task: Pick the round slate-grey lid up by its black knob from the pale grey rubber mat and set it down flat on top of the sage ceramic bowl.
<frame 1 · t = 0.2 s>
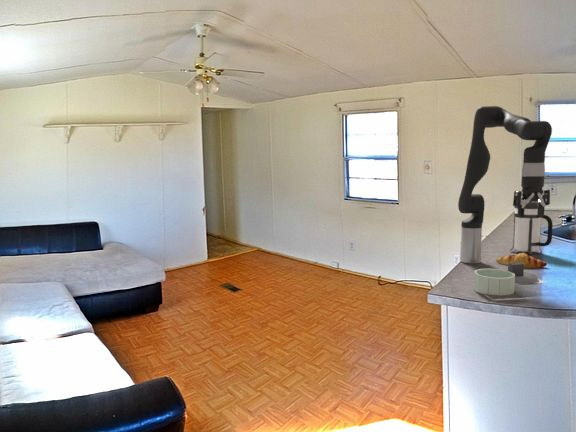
hand: (530, 217, 166), 28 cm above the worktop, tool pointing down, fingers open, 8 cm apart
mat: (515, 279, 181), on the worktop
coffee press: (528, 253, 227), on the worktop
bowl: (493, 290, 167), on the worktop
lid: (515, 278, 181), point 1 cm above the worktop, touching mat
croissant: (520, 266, 202), on the worktop
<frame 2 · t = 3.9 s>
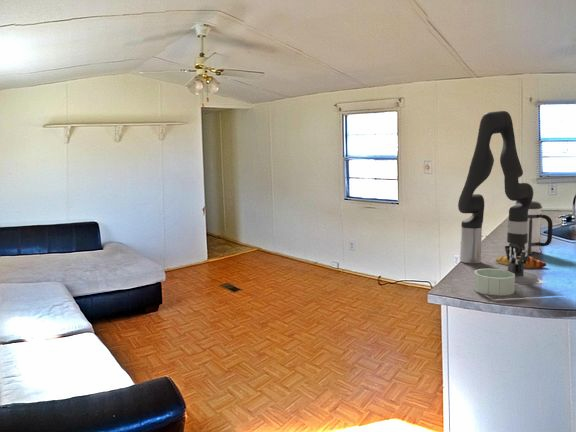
hand: (515, 271, 181), 3 cm above the worktop, tool pointing down, fingers closed on lid, 3 cm apart
lid: (515, 278, 181), point 1 cm above the worktop, touching gripper, mat
everything else where it was.
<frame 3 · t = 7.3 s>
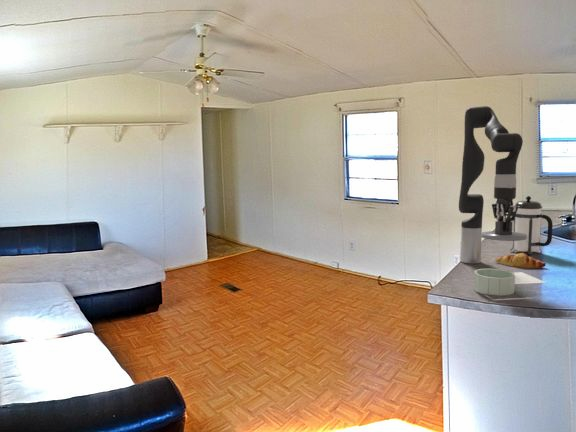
hand: (503, 230, 167), 23 cm above the worktop, tool pointing down, fingers closed on lid, 3 cm apart
lid: (503, 237, 168), point 20 cm above the worktop, touching gripper
everything else where it was.
when the fingers open (11 cm above the worktop, at t = 10.1 s): lid drops 1 cm, resting on bowl.
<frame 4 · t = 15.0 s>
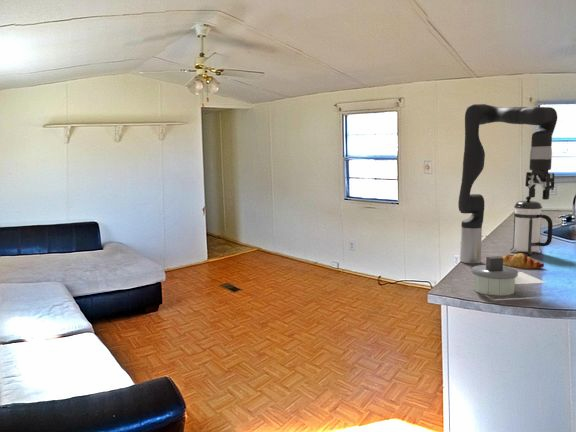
hand: (538, 198, 175), 34 cm above the worktop, tool pointing down, fingers open, 8 cm apart
lid: (494, 273, 166), point 7 cm above the worktop, touching bowl
at the end: lid 0.1 cm off-centre on the bowl, point 7.0 cm above the bowl's base; lid tilted 0°; the gripper is holding nothing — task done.
